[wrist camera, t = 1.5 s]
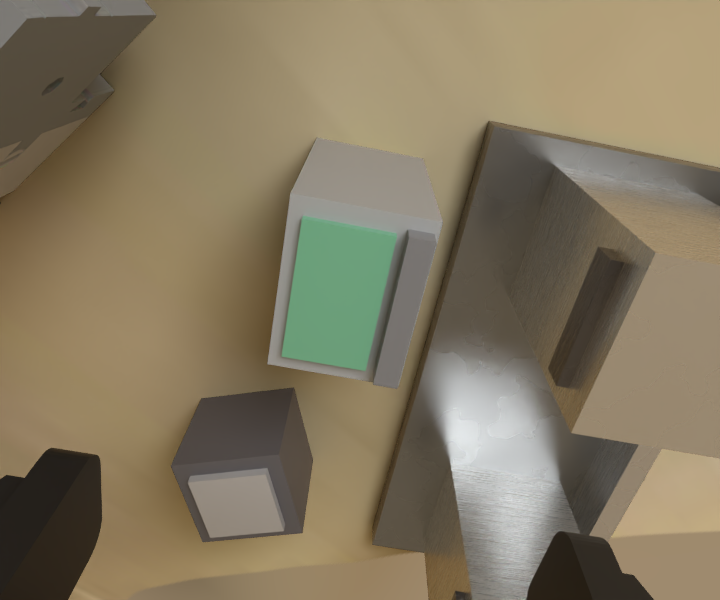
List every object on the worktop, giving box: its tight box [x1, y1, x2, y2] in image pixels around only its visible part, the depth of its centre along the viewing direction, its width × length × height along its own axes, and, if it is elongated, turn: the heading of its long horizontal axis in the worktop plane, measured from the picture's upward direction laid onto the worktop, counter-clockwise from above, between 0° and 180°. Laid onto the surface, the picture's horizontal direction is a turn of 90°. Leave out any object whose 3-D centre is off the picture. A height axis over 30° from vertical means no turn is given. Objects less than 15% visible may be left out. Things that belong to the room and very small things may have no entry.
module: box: [267, 138, 443, 389], centre depth 21 cm, size 6×4×9 cm
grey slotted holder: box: [372, 121, 720, 600], centre depth 24 cm, size 24×11×10 cm, turn 169°
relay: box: [171, 388, 313, 542], centre depth 28 cm, size 5×5×5 cm
